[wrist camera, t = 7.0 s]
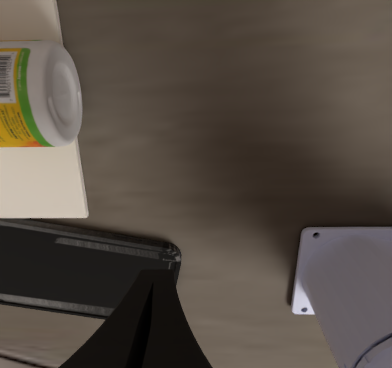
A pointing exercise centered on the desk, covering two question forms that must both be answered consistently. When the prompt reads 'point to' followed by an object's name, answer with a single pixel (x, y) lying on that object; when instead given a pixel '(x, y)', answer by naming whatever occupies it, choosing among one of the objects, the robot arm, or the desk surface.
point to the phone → (73, 266)
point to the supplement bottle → (38, 94)
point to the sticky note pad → (38, 156)
